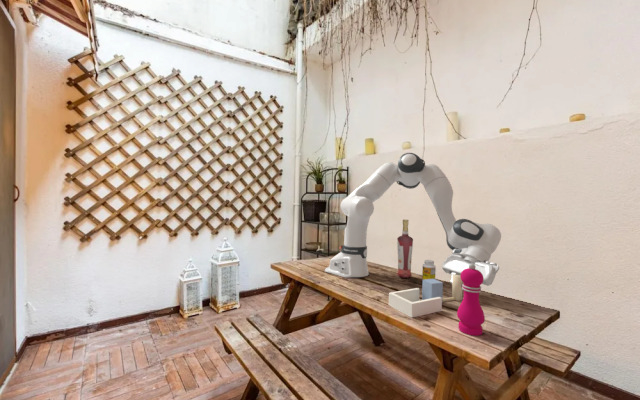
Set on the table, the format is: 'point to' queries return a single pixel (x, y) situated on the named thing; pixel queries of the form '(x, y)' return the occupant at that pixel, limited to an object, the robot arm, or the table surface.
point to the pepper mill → (471, 302)
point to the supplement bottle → (428, 270)
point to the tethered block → (435, 289)
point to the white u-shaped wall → (414, 303)
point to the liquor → (404, 252)
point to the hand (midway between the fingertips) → (457, 285)
